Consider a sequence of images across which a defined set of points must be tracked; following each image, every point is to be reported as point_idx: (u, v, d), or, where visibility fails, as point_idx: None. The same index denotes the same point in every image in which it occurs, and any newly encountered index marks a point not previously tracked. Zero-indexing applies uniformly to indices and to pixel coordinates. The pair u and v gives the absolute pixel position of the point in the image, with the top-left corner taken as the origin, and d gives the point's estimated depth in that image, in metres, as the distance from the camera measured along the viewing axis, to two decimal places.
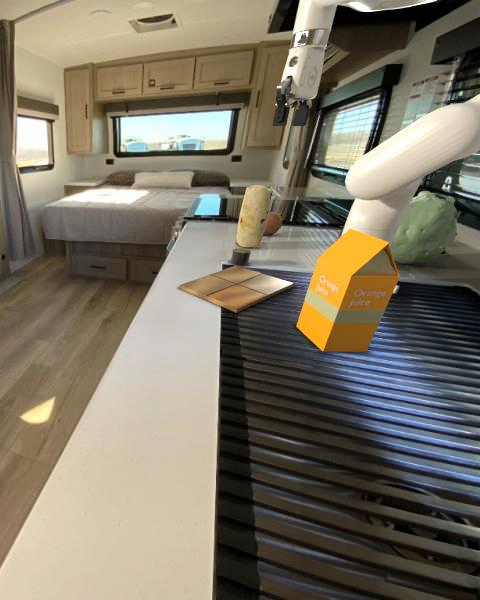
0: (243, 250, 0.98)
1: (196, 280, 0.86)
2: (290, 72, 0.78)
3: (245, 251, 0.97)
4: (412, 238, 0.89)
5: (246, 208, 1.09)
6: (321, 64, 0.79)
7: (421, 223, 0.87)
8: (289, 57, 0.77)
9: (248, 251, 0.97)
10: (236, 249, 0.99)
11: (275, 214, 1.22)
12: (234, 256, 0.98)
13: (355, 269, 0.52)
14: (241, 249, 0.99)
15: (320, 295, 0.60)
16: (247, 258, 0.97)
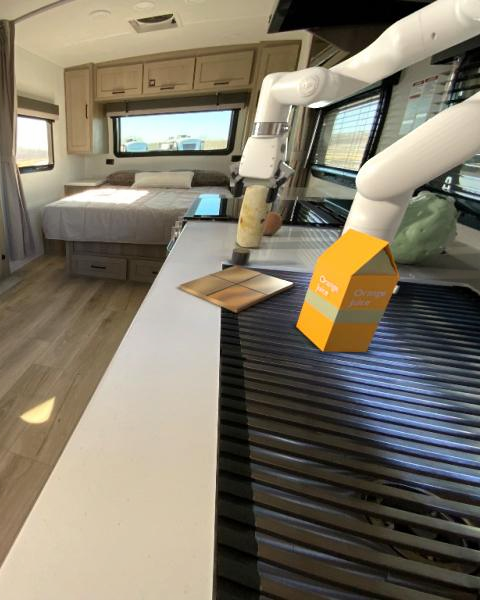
0: (243, 250, 0.98)
1: (196, 280, 0.86)
2: (281, 157, 0.83)
3: (245, 251, 0.97)
4: (412, 238, 0.89)
5: (246, 208, 1.09)
6: None
7: (421, 223, 0.87)
8: (279, 143, 0.82)
9: (248, 251, 0.97)
10: (236, 249, 0.99)
11: (275, 214, 1.22)
12: (234, 256, 0.98)
13: (355, 269, 0.52)
14: (241, 249, 0.99)
15: (320, 295, 0.60)
16: (247, 258, 0.97)
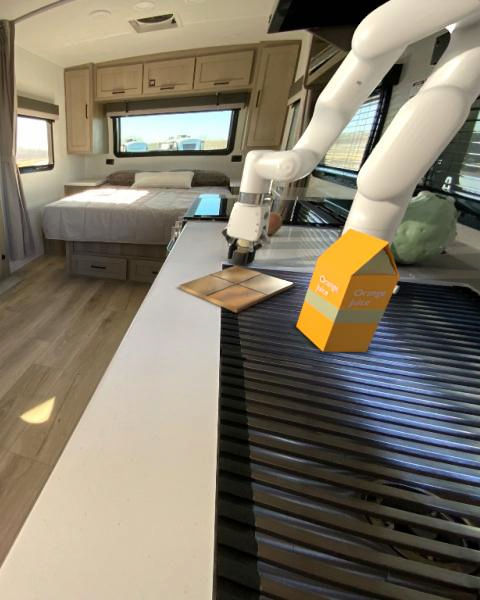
0: (243, 250, 0.98)
1: (196, 280, 0.86)
2: (265, 223, 0.90)
3: (245, 251, 0.97)
4: (412, 238, 0.89)
5: None
6: None
7: (421, 223, 0.87)
8: (263, 212, 0.89)
9: None
10: (236, 249, 0.99)
11: (275, 214, 1.22)
12: (234, 256, 0.98)
13: (355, 269, 0.52)
14: (241, 249, 0.99)
15: (320, 295, 0.60)
16: None
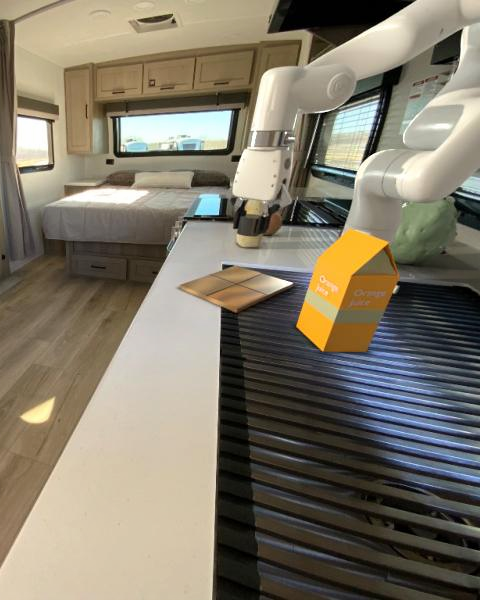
0: (253, 216, 0.73)
1: (196, 280, 0.86)
2: (285, 175, 0.65)
3: (256, 217, 0.72)
4: (412, 238, 0.89)
5: (246, 208, 1.09)
6: None
7: (421, 223, 0.87)
8: (283, 158, 0.64)
9: None
10: (244, 215, 0.74)
11: (275, 214, 1.22)
12: (241, 224, 0.73)
13: (355, 269, 0.52)
14: (251, 215, 0.74)
15: (320, 295, 0.60)
16: None
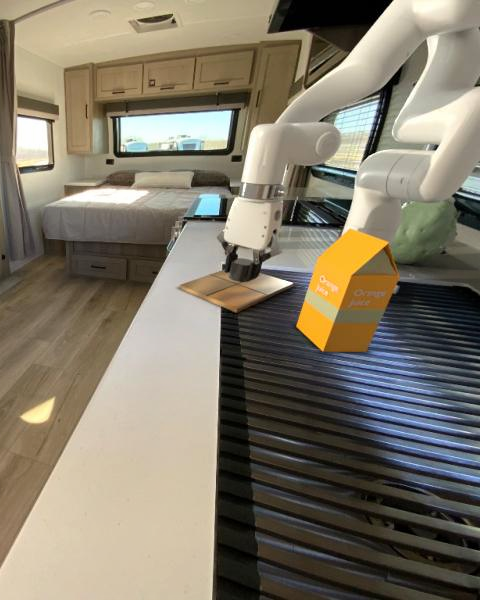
0: (244, 262, 0.73)
1: (196, 280, 0.86)
2: (275, 226, 0.66)
3: (248, 263, 0.73)
4: (412, 238, 0.89)
5: None
6: None
7: (421, 223, 0.87)
8: (273, 210, 0.64)
9: None
10: (236, 260, 0.75)
11: None
12: (233, 270, 0.74)
13: (355, 269, 0.52)
14: (242, 260, 0.75)
15: (320, 295, 0.60)
16: None
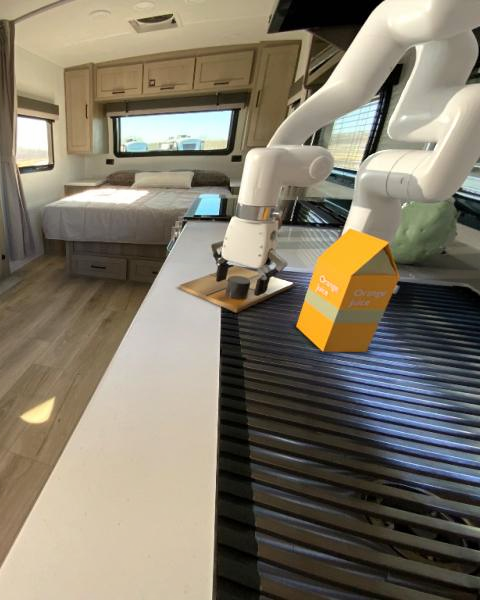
0: (240, 280, 0.75)
1: (196, 280, 0.86)
2: (271, 245, 0.68)
3: (244, 281, 0.75)
4: (412, 238, 0.89)
5: None
6: None
7: (421, 223, 0.87)
8: (269, 231, 0.66)
9: (247, 281, 0.75)
10: (232, 277, 0.77)
11: None
12: (229, 287, 0.76)
13: (355, 269, 0.52)
14: (239, 277, 0.77)
15: (320, 295, 0.60)
16: (246, 289, 0.75)
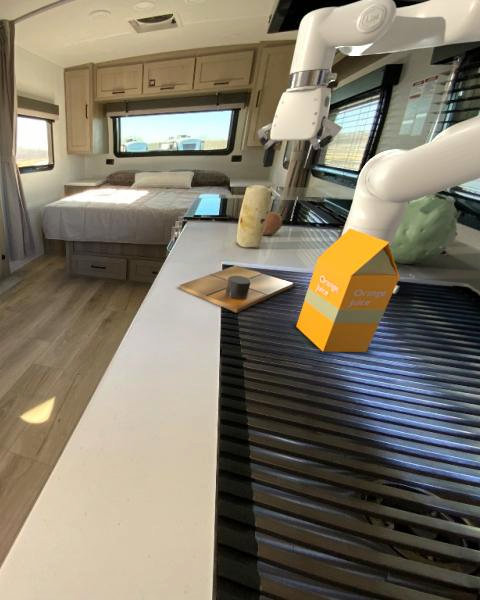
0: (240, 280, 0.75)
1: (196, 280, 0.86)
2: (325, 112, 0.71)
3: (244, 281, 0.75)
4: (412, 238, 0.89)
5: (246, 208, 1.09)
6: None
7: (421, 223, 0.87)
8: (323, 95, 0.69)
9: (247, 281, 0.75)
10: (232, 277, 0.77)
11: (275, 214, 1.22)
12: (229, 287, 0.76)
13: (355, 269, 0.52)
14: (239, 277, 0.77)
15: (320, 295, 0.60)
16: (246, 289, 0.75)
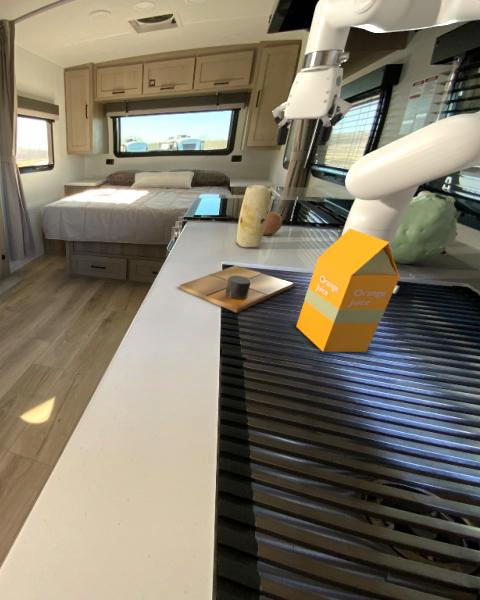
0: (240, 280, 0.75)
1: (196, 280, 0.86)
2: (336, 91, 0.75)
3: (244, 281, 0.75)
4: (412, 238, 0.89)
5: (246, 208, 1.09)
6: None
7: (421, 223, 0.87)
8: (335, 75, 0.74)
9: (247, 281, 0.75)
10: (232, 277, 0.77)
11: (275, 214, 1.22)
12: (229, 287, 0.76)
13: (355, 269, 0.52)
14: (239, 277, 0.77)
15: (320, 295, 0.60)
16: (246, 289, 0.75)
